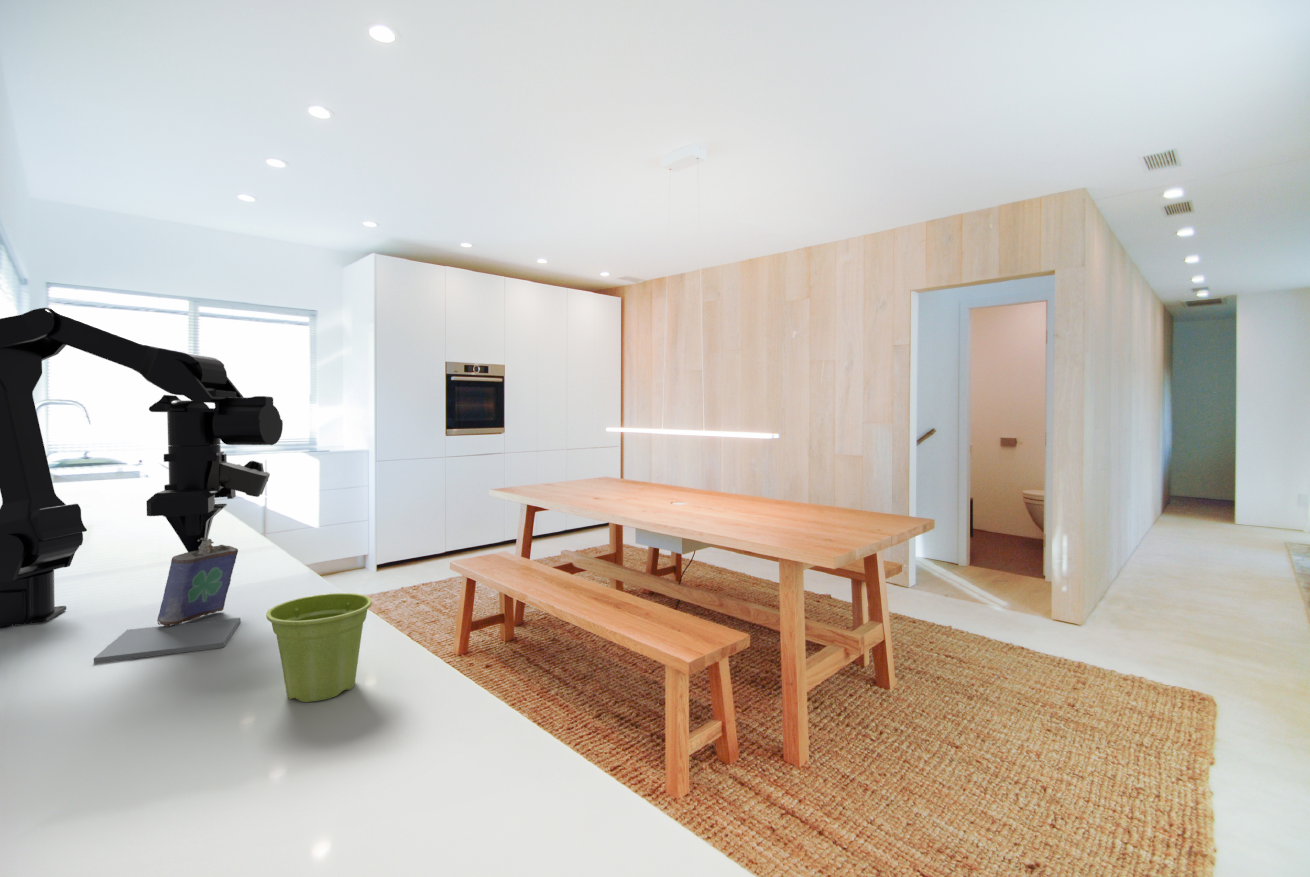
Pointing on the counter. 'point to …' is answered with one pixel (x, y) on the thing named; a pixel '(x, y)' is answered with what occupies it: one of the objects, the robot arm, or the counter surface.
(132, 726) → the counter surface
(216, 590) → the flask
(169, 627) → the serving mat
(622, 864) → the counter surface
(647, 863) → the counter surface
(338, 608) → the plant pot
